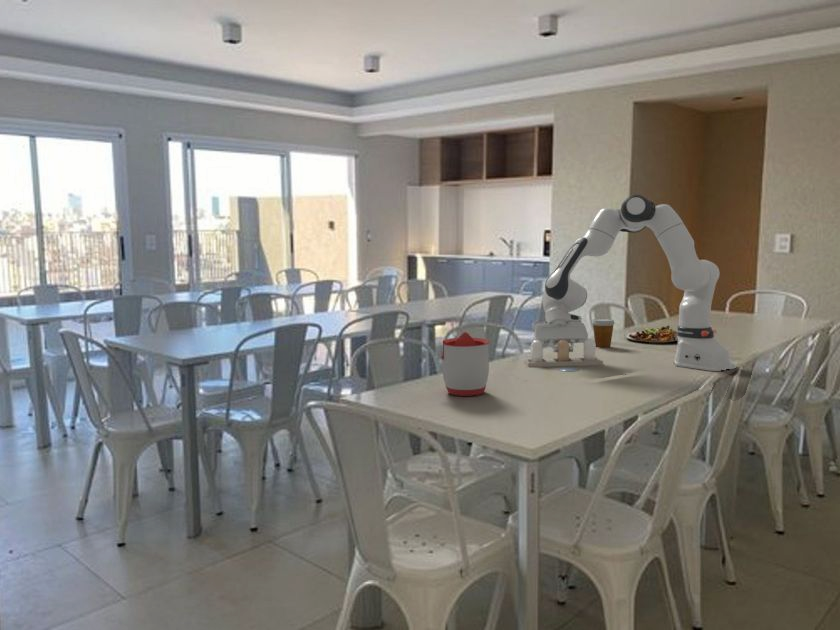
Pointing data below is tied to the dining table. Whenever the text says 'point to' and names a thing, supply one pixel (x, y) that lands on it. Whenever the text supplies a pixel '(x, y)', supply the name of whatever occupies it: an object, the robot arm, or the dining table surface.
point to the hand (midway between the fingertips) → (563, 351)
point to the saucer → (568, 369)
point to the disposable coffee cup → (603, 332)
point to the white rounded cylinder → (589, 350)
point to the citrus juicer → (465, 365)
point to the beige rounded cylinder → (563, 351)
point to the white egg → (536, 351)
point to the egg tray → (568, 363)
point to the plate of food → (654, 335)
